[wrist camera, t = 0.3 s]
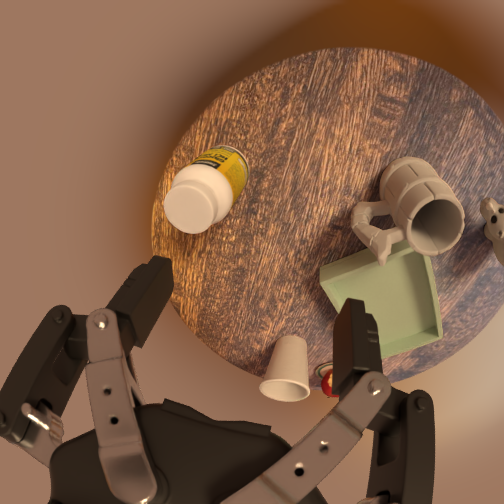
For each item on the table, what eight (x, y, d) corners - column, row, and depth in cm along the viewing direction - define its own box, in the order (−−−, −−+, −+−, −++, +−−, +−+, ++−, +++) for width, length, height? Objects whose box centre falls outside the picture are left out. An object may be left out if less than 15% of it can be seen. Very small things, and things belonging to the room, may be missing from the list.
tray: (319, 267, 37) (319, 283, 34) (417, 226, 30) (425, 240, 27) (366, 348, 45) (367, 363, 43) (438, 323, 39) (443, 337, 36)
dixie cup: (264, 331, 47) (253, 379, 39) (311, 329, 45) (306, 380, 37) (274, 357, 52) (265, 401, 44) (316, 355, 49) (312, 401, 41)
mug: (439, 203, 27) (481, 262, 18) (355, 231, 32) (369, 299, 23) (426, 146, 24) (479, 186, 15) (335, 176, 29) (346, 231, 20)
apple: (308, 368, 52) (305, 396, 47) (339, 355, 48) (339, 384, 42) (330, 382, 54) (329, 407, 49) (360, 370, 50) (361, 397, 45)
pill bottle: (240, 137, 29) (206, 167, 20) (257, 186, 32) (233, 235, 23) (192, 152, 31) (144, 188, 22) (210, 197, 34) (173, 246, 25)
